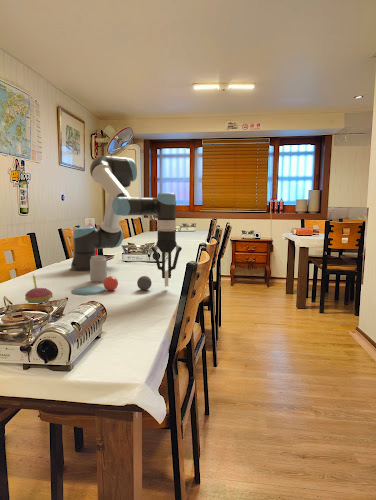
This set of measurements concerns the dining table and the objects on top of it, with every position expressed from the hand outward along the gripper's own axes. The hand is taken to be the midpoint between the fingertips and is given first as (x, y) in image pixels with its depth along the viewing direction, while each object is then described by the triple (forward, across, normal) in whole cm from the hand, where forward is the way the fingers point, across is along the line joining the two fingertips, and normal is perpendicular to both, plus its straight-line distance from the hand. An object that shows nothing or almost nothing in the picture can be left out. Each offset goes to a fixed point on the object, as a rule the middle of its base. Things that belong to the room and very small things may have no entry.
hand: (166, 285), depth 141 cm
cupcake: (+2, -44, -23) cm, 50 cm away
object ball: (-1, -23, 0) cm, 23 cm away
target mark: (+2, -32, 0) cm, 32 cm away
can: (+2, -31, +17) cm, 36 cm away
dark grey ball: (-1, -9, 0) cm, 9 cm away
